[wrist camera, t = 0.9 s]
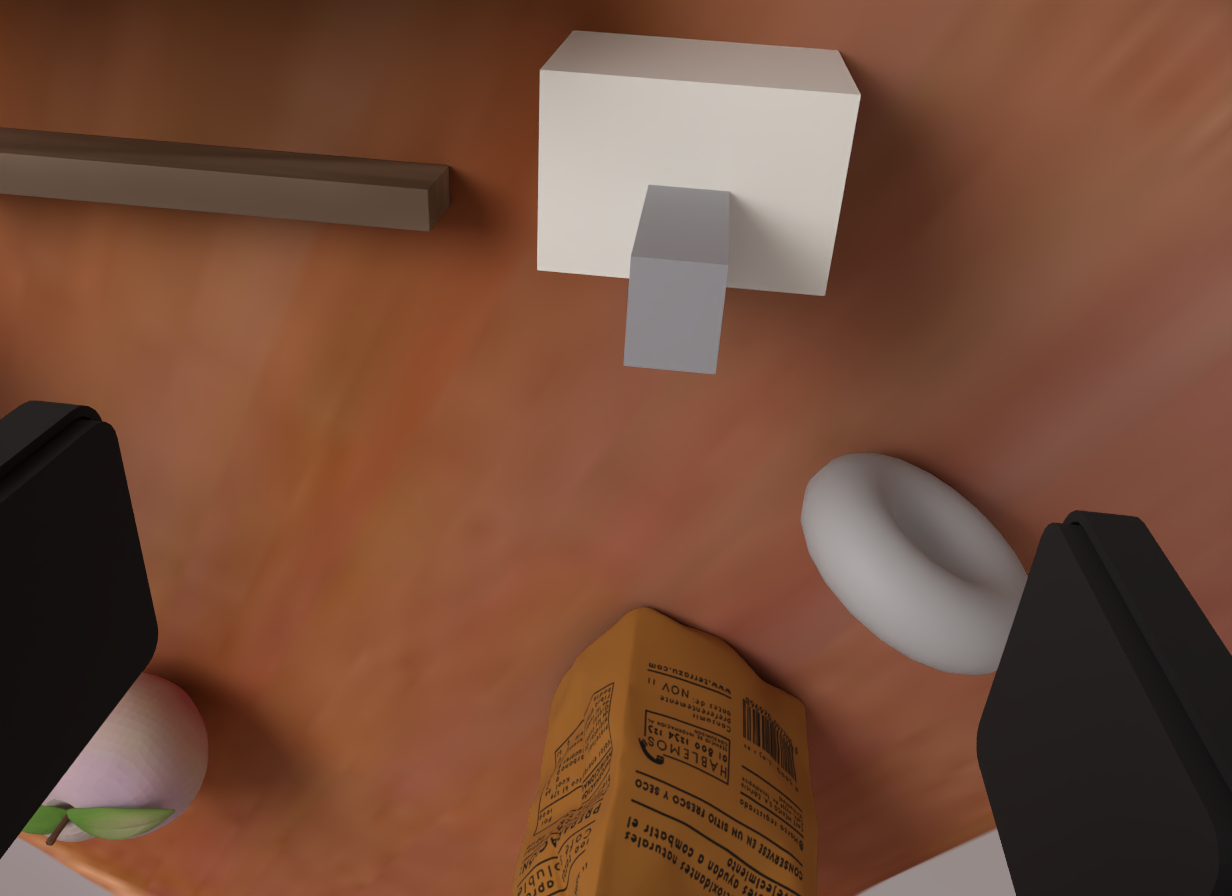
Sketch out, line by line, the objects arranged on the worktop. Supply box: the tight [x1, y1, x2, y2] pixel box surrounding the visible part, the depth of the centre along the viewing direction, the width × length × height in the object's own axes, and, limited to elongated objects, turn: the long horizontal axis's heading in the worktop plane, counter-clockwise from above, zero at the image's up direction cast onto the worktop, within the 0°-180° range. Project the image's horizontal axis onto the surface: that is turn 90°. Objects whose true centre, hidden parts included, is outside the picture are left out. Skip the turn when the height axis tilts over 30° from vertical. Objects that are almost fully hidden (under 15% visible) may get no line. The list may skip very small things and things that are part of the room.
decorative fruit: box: [22, 672, 208, 846], centre depth 49 cm, size 9×8×10 cm
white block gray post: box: [537, 30, 861, 374], centre depth 30 cm, size 6×9×13 cm, turn 87°
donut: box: [801, 453, 1028, 675], centre depth 38 cm, size 10×4×10 cm, turn 61°
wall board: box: [0, 128, 450, 232], centre depth 30 cm, size 11×24×12 cm, turn 87°
